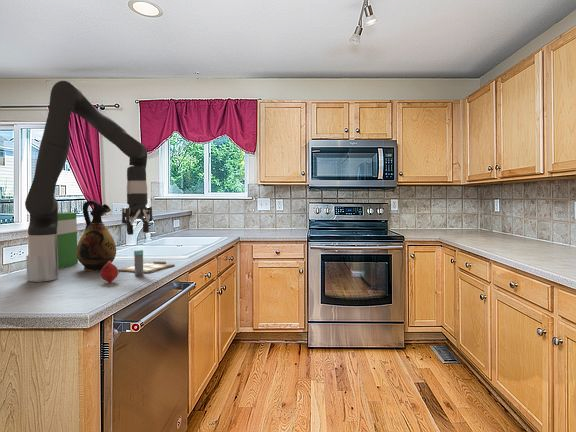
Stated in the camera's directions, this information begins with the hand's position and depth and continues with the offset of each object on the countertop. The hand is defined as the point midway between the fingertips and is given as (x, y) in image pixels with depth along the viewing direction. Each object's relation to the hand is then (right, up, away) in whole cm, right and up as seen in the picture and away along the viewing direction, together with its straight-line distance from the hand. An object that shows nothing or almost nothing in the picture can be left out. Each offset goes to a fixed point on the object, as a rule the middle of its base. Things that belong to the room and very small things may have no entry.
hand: (138, 233), depth 152 cm
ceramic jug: (-24, -16, +14) cm, 32 cm away
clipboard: (-2, -16, +15) cm, 22 cm away
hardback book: (-44, -16, +21) cm, 51 cm away
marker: (0, -17, +1) cm, 17 cm away
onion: (-6, -18, -12) cm, 22 cm away
